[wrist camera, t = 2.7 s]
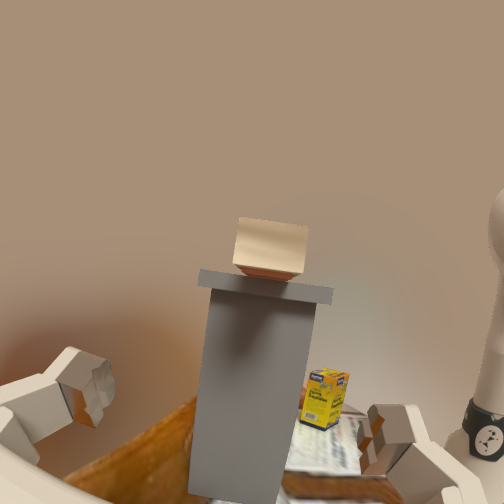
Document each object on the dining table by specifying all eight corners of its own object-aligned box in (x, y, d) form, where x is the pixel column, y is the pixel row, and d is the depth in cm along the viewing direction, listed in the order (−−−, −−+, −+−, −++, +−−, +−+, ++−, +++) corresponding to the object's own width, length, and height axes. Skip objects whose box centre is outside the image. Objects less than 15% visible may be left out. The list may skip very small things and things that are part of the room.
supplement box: (325, 432, 50) (337, 378, 51) (298, 422, 54) (309, 371, 55) (339, 423, 54) (350, 373, 55) (313, 415, 58) (323, 367, 59)
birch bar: (302, 278, 18) (308, 226, 18) (231, 268, 18) (239, 217, 18) (280, 284, 43) (283, 262, 44) (252, 280, 44) (255, 258, 44)
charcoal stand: (283, 517, 25) (333, 288, 27) (174, 500, 25) (199, 269, 28) (278, 447, 42) (307, 288, 45) (203, 436, 43) (225, 276, 46)
